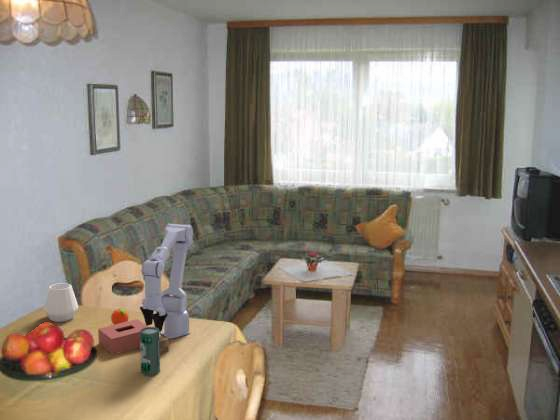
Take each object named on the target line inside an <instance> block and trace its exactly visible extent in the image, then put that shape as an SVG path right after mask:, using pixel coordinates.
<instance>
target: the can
mask: <svg viewBox="0 0 560 420" xmlns="http://www.w3.org/2000/svg"><path fill="white" fill-rule="evenodd" d="M159 339H160V332H159V329H158V328H155V326H148V327H145V328H143V329H141V331H140V347H139V350H140V373H141V375H143V376H146V377H148V376H149V377H152V376H156V375H158V374H159V373H160V372H161V358H160V357H161V356H160V355H161V354H160V344H159Z"/></svg>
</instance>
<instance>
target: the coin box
mask: <svg viewBox="0 0 560 420" xmlns="http://www.w3.org/2000/svg"><path fill="white" fill-rule="evenodd" d="M145 327H149V325H148V326H147V325H146V323H145V322H143V321H141V320H140V319H138V318H137V319H133V320H128V321H127V322H123V323H119V324H115V325H114V324H112V325H111V324H110V325H107V326H103V327H99V328H98V330H97V333H98V344H99V345H100V346H101V347H102V348H103V349H105V350H106V351H107V352H109V354H111V355H115V354H119V353H123V352H126V351H130V350H133V349H137V348H140V331H141V329H143V328H145Z"/></svg>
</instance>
